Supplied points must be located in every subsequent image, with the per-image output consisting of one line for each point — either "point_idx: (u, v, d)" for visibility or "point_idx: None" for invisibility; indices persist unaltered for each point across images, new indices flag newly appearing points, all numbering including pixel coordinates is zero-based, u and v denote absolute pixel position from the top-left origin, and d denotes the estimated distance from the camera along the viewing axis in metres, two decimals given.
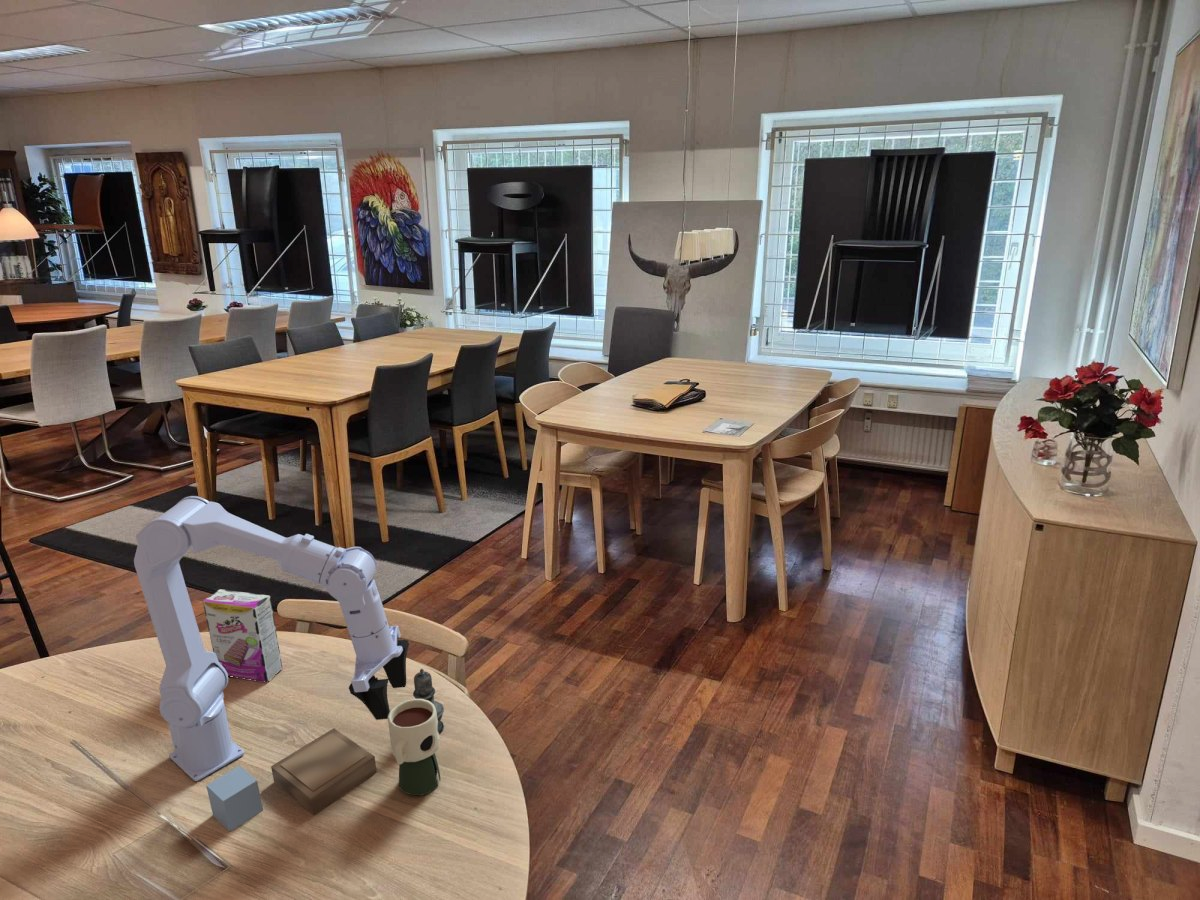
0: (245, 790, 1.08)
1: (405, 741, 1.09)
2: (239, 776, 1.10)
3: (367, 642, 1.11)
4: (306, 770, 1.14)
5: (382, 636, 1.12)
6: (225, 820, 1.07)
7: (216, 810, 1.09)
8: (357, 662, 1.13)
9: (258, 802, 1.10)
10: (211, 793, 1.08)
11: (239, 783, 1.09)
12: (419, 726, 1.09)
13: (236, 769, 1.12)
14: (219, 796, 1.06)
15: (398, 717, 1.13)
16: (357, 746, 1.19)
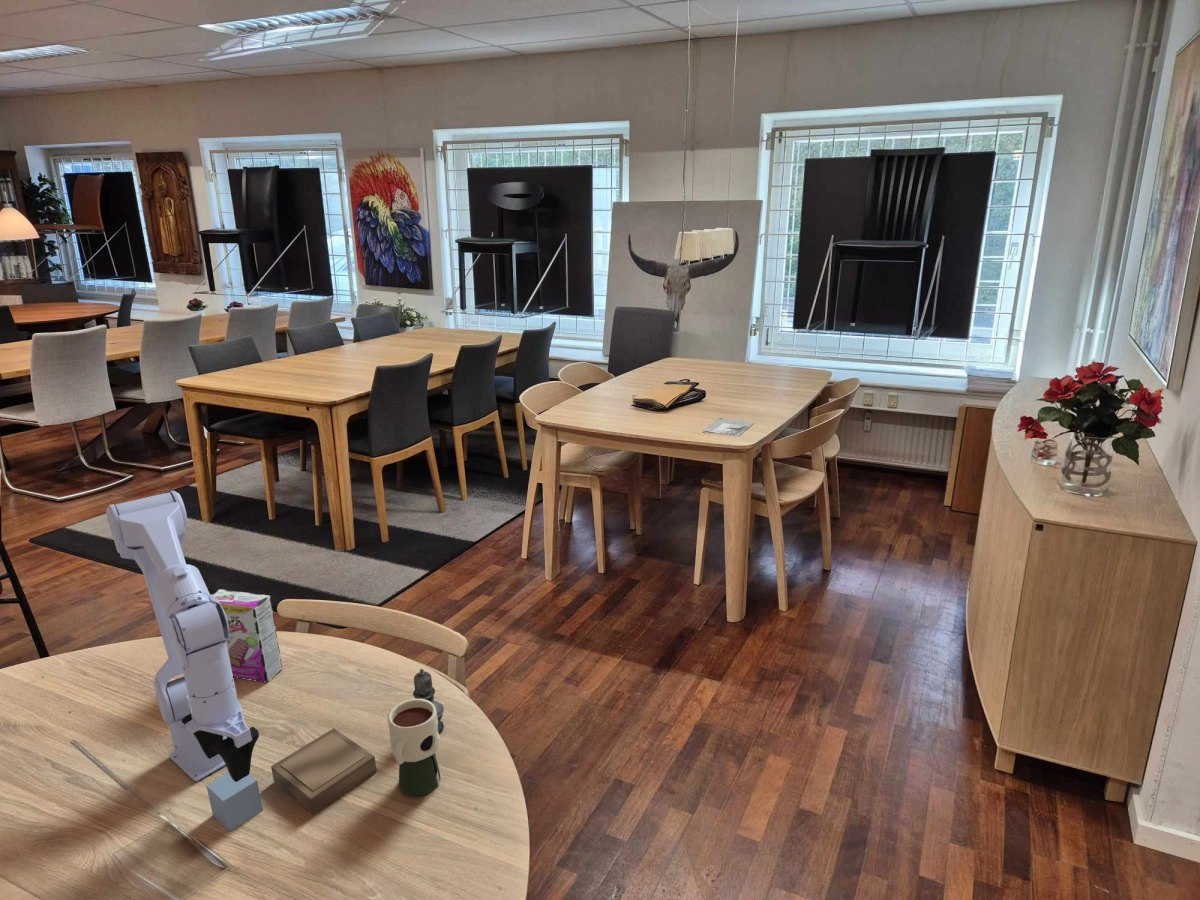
0: (245, 790, 1.08)
1: (405, 741, 1.09)
2: None
3: None
4: (306, 770, 1.14)
5: None
6: (225, 820, 1.07)
7: (216, 810, 1.09)
8: None
9: (258, 802, 1.10)
10: (211, 793, 1.08)
11: (239, 783, 1.09)
12: (419, 726, 1.09)
13: None
14: (219, 796, 1.06)
15: (398, 717, 1.13)
16: (357, 746, 1.19)
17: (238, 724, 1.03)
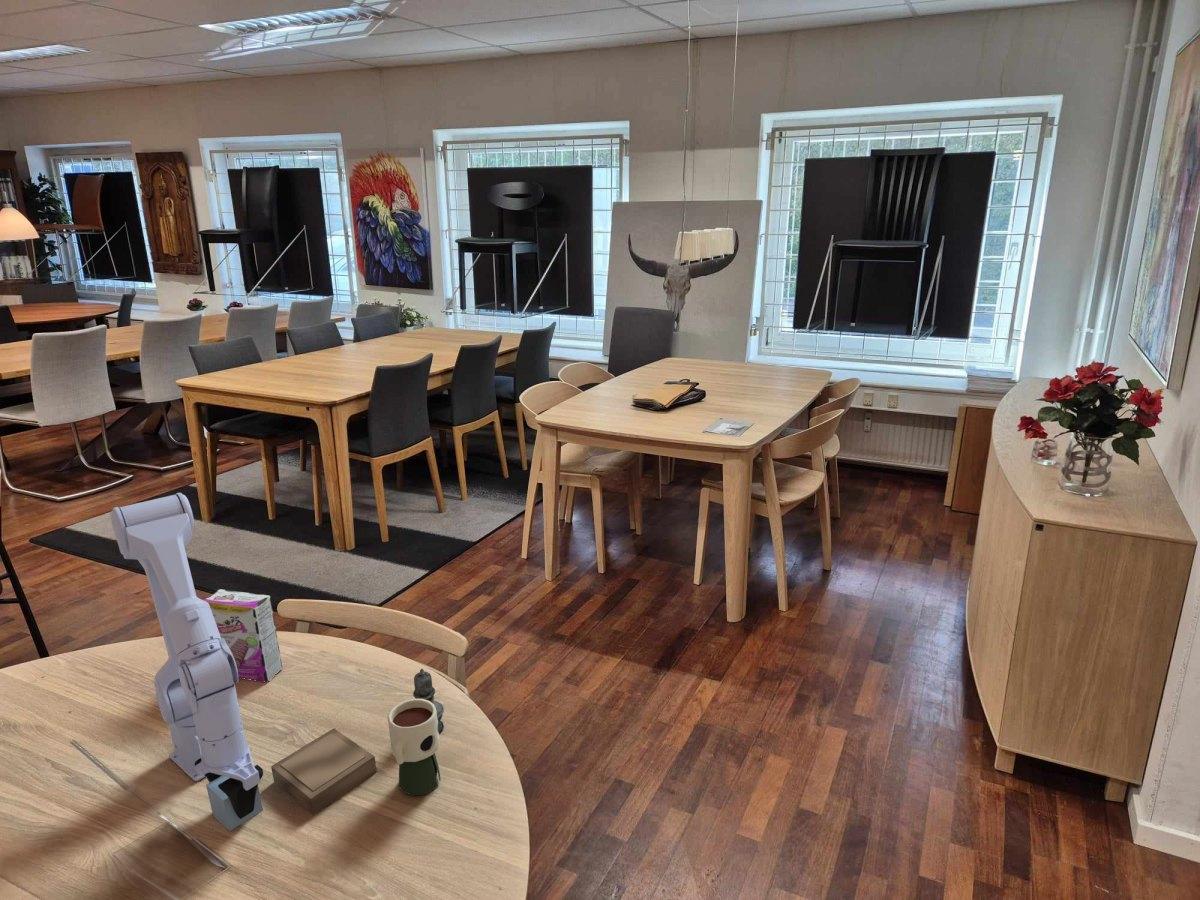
0: None
1: (405, 741, 1.09)
2: None
3: None
4: (306, 770, 1.14)
5: None
6: (225, 820, 1.07)
7: (216, 810, 1.09)
8: None
9: (258, 801, 1.10)
10: (211, 793, 1.08)
11: None
12: (419, 726, 1.09)
13: None
14: (219, 796, 1.06)
15: (398, 717, 1.13)
16: (357, 746, 1.19)
17: (247, 766, 1.05)
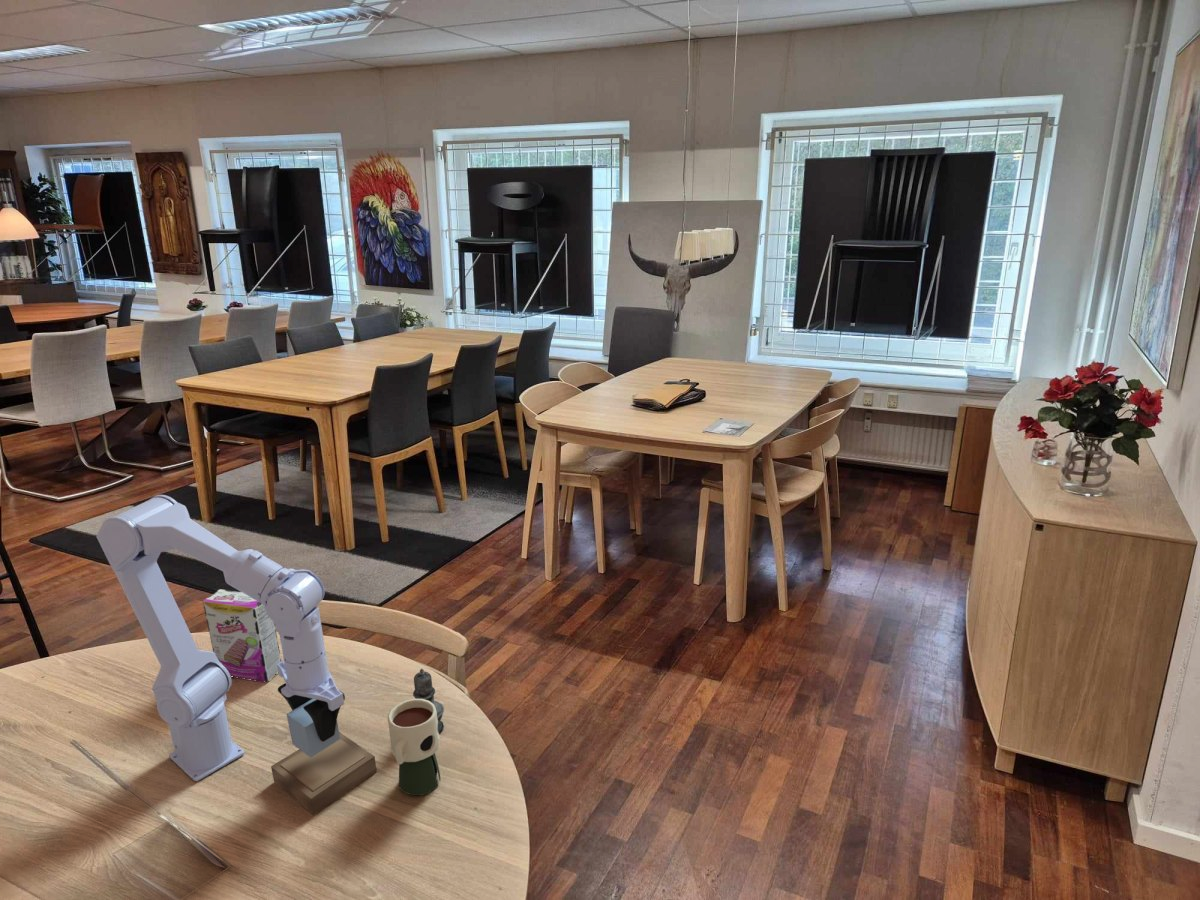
0: None
1: (405, 741, 1.09)
2: None
3: None
4: (306, 770, 1.14)
5: (284, 663, 1.09)
6: (306, 746, 1.11)
7: (296, 737, 1.13)
8: None
9: (336, 730, 1.14)
10: (292, 721, 1.12)
11: None
12: (419, 726, 1.09)
13: (314, 699, 1.15)
14: (301, 723, 1.10)
15: (398, 717, 1.13)
16: (357, 746, 1.19)
17: (331, 689, 1.09)
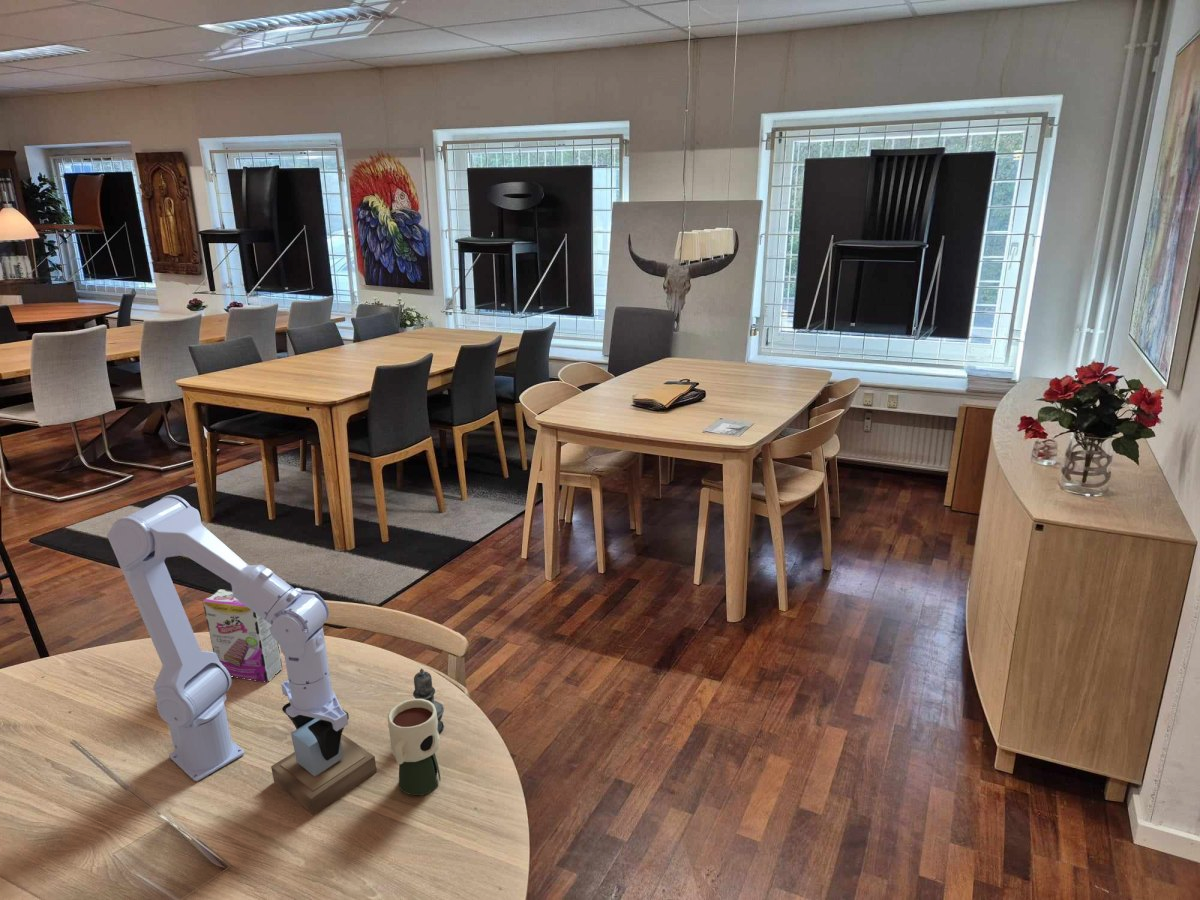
0: None
1: (405, 741, 1.09)
2: None
3: None
4: (306, 770, 1.14)
5: (289, 683, 1.11)
6: (310, 765, 1.12)
7: (301, 756, 1.14)
8: None
9: (339, 749, 1.15)
10: (296, 740, 1.13)
11: None
12: (419, 726, 1.09)
13: None
14: (305, 742, 1.12)
15: (398, 717, 1.13)
16: (357, 746, 1.19)
17: (335, 709, 1.10)
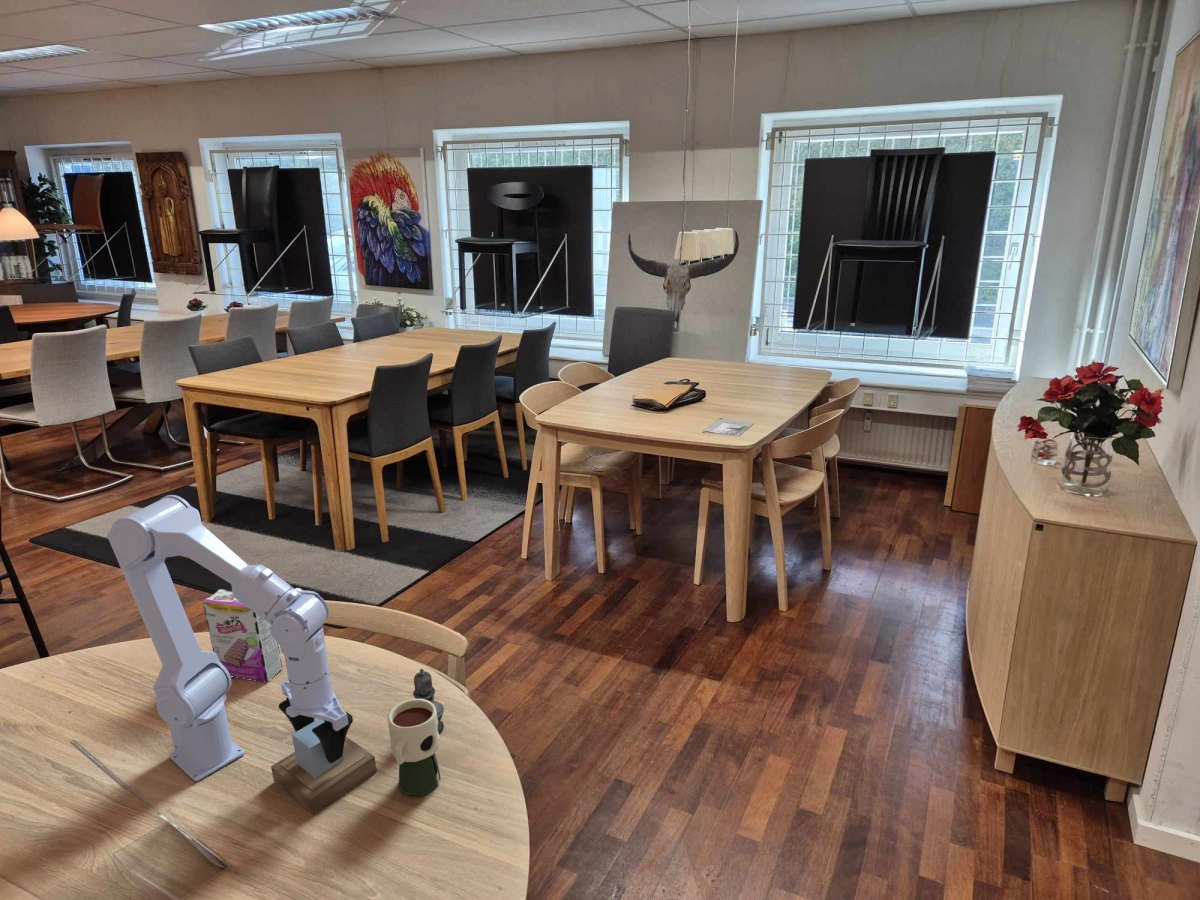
0: None
1: (405, 741, 1.09)
2: None
3: None
4: None
5: (289, 683, 1.11)
6: (311, 767, 1.13)
7: (301, 758, 1.14)
8: None
9: None
10: (297, 741, 1.13)
11: None
12: (419, 726, 1.09)
13: (319, 720, 1.17)
14: (306, 744, 1.12)
15: (398, 717, 1.13)
16: (357, 746, 1.19)
17: (335, 709, 1.10)
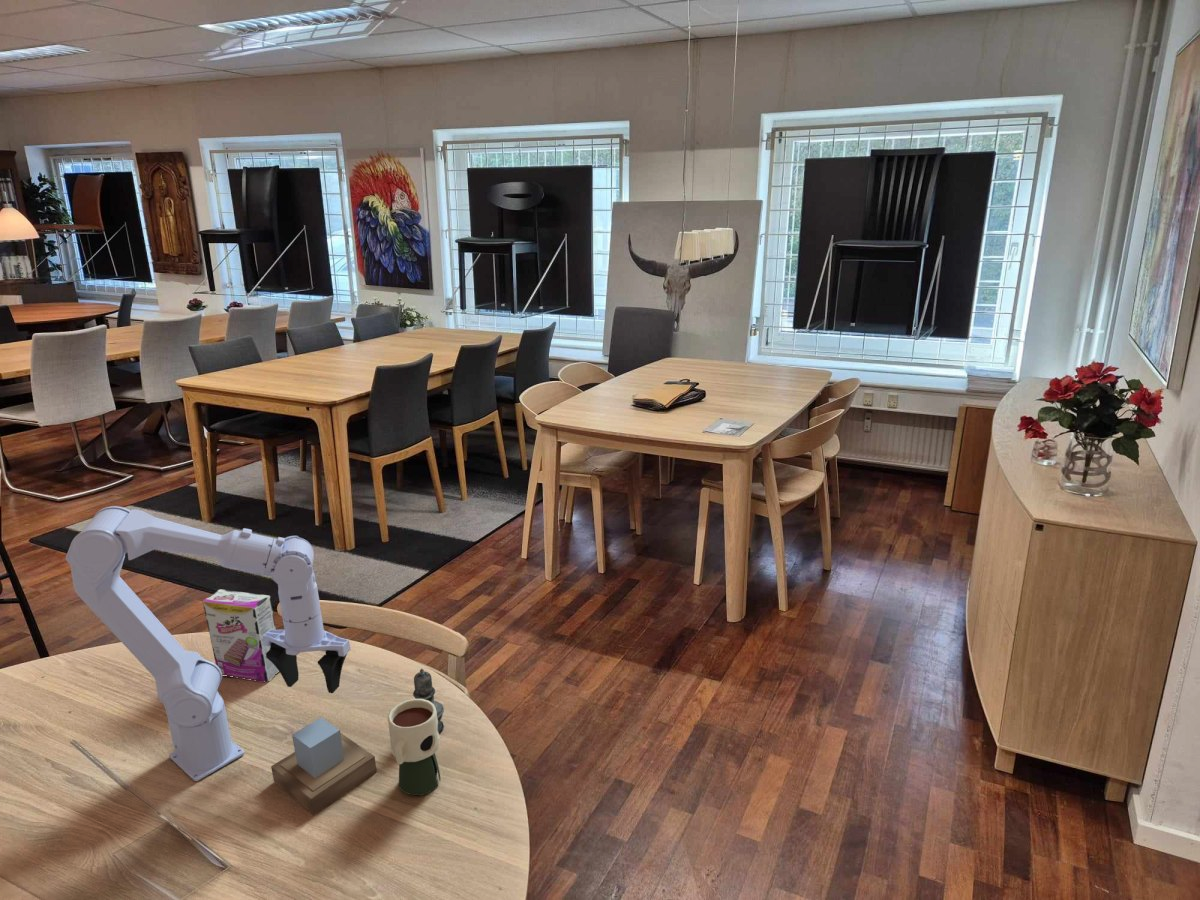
0: (329, 739, 1.13)
1: (405, 741, 1.09)
2: (322, 726, 1.15)
3: None
4: None
5: (285, 626, 1.17)
6: (311, 767, 1.13)
7: (301, 758, 1.14)
8: None
9: (340, 751, 1.15)
10: (297, 741, 1.13)
11: (323, 733, 1.14)
12: (419, 726, 1.09)
13: (319, 720, 1.17)
14: (306, 744, 1.12)
15: (398, 717, 1.13)
16: (357, 746, 1.19)
17: (334, 640, 1.20)
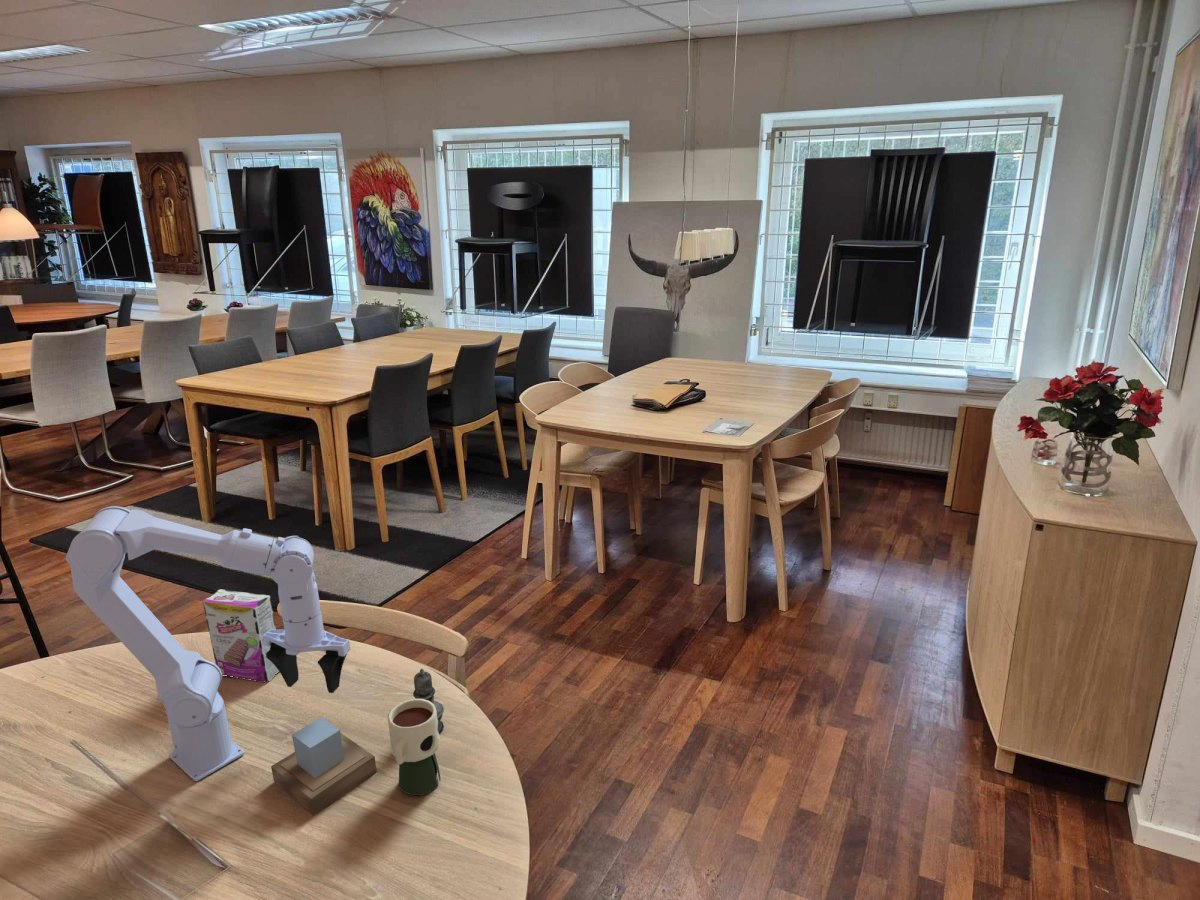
0: (329, 739, 1.13)
1: (405, 741, 1.09)
2: (322, 726, 1.15)
3: None
4: None
5: (285, 626, 1.17)
6: (311, 767, 1.13)
7: (301, 758, 1.14)
8: None
9: (340, 751, 1.15)
10: (297, 741, 1.13)
11: (323, 733, 1.14)
12: (419, 726, 1.09)
13: (319, 720, 1.17)
14: (306, 744, 1.12)
15: (398, 717, 1.13)
16: (357, 746, 1.19)
17: (334, 639, 1.20)
